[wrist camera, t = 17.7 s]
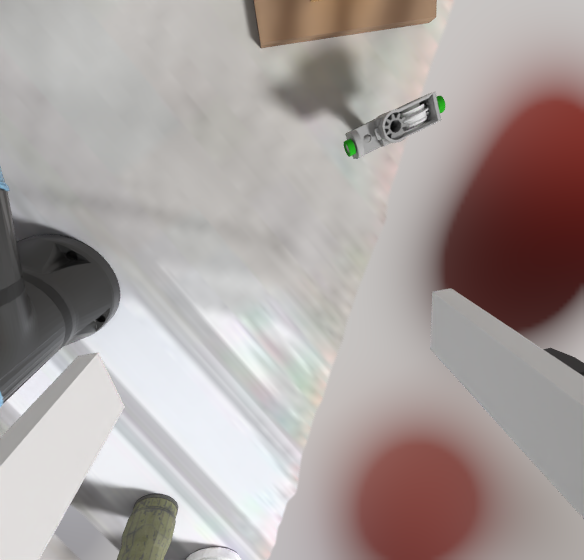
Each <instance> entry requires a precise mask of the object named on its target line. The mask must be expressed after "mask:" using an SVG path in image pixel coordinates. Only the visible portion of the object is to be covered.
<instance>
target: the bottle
mask: <svg viewBox="0 0 584 560" xmlns="http://www.w3.org/2000/svg"><path fill="white" fill-rule="evenodd" d="M186 560H241V557H240V556H239V555H238V554H237V553H236V552H234V551H232V550H230V549H226V548H221V547H212V548H205V549H201V550H198V551H196V552H194V553H192V554H191V555H190V556H189V557H188V558H187V559H186Z"/></svg>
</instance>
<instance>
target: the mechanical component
mask: <svg viewBox="0 0 584 560" xmlns="http://www.w3.org/2000/svg"><path fill="white" fill-rule="evenodd" d="M444 110H445V101H444V99H443V97H442V96H437V97H436V93H435V92H433V93H430V94H428V95H425V96H423V97H421V98H418V99H416V100H414V101H412V102H410V103H407V104H405V105H403V106H401V107H399V108H397V109H395V110H392V111H389V112H387V113H384V114H382V115H380V116H378V117H377V118H376V119H374V120H372V121H370V122H368V123H366V124H364V125H362V126H360V127H358V128H356V129H354V130H352V131H350V132H348V133H346V137H347V140H346V141H344V148H345V151H346V153H347V155H348V156H349V157H350V156H352V155H353V158H354V159H358V158H360V157H362V156H364V155H365V154H367V153H369V152H371V151H373V150H375V149H377V148H379V147H381V146H386V145H388V144H390V143H396V142H400V141H402V140H404V139H405V138H406V137H407V136H409V135H411V134H413V133H415V132H418V131H420V130H422V129H424V128H426V127H428V126H430V125H432V124H434V123H436V122H438V121H440V120H441V117H440V113H442V112H443V111H444Z"/></svg>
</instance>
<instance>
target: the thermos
mask: <svg viewBox="0 0 584 560" xmlns="http://www.w3.org/2000/svg"><path fill="white" fill-rule="evenodd" d="M177 511H178V505H177V502H176V501H175V500H174V499H173V498H171V497H169V496H166V495H163V494H150V495H146V496H144V497H141V498H140V499H139V500H137V502H136V503H135V505H134V508H133V512H132V514H131V516H130V517H129V519H128V522H127V524H126V527H125V530H124V532H123V535H122V546H121V549H120V552H119V555H118V558H117V560H164V556H165V554H166V552H167V550H168V548H169V545H170V543H171V540H172V535H173V531H174V527H175V522H176V521H175V518H176V515H177Z"/></svg>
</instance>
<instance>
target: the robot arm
mask: <svg viewBox="0 0 584 560" xmlns="http://www.w3.org/2000/svg"><path fill="white" fill-rule="evenodd" d="M7 191H10V190H9V187H8V185H7V184H6V183H5V182H4V178H3V175H2V171H1V167H0V407H1V406H2V405H3V403H4V402H5V401H6V400H7V399H8V398H10V397H11V396H12V395H13V394H14V393H15V392H16V391H17V390H18V389H19V388H20V387H21V386H22V385H23V384H24V383H25V382H26V381H27V380H28V379H29V378H30V377H31V376H32V375H33V374H35V373H36V372H37V371H38V370H39V369H40V368H41V367H42V366H43V365H44V364H45V363H46V362H47V361H48V360H49V359H50V358H51V357H52V356H53V355H54V354H55V353H56V352H57V351H58V350H59V349H61V348H62V347H63V346H65V345H68V344H70V343H73V342H75V341H78V340H80V339H83V338H85V337H88V336H90V335H92V334H94V333H95V332H97V331H98V330H100V329H101V328H102V327H103V326H104V325H105V324H106V323H107V322H108V321H109V320H110V319H111V318H112V317H113V316H114V314H115V312H116V310H117V308H118V305H119V301H120V288H119V284H118V280H117V278H116V275H115V273H114V272H113V270H112V268H111V267H110V265H109V264H108V263H107V262H106V260H105V259H104V258H103V257H102V256H101V255H100V254H98V253H97V252H96V251H95V250H93V249H92V248H90V247H89V246H87V245H85V244H83V243H81V242H79V241H77V240H75V239H72V238H68V237H65V236H59V235H37V236H33V237H29V238H26V239H23V240H20V241H18V242H17V241H16V236H15V230H14V225H13V219H12V214H11V209H10V203H9V198H8V192H7ZM430 349H431V350H432V352H433V353H434V354H435V355H436V356H437V357H438V358H439V359H440V361H441V362H442V363H443V364H444V365H445V366H446V367H447V368H448V369H449V370H450V372H451V373H452V374H453V375H454V376H455V377H456V378H457V379H458V380H459V382H460V383H461V384H462V385H463V386H464V387H465V388H466V389H467V390H468V391H469V393H470V394H471V395H472V396H473V397H474V398H475V399H476V400H477V401H478V403H479V404H480V405H481V406H482V407H483V408H484V409H485V410H486V411H487V412H488V413H489V415H490V416H491V417H492V418H493V419H494V420H495V421H496V422H497V424H498V425H499V426H500V427H501V428H502V429H503V430H504V431H505V432H506V434H507V435H508V436H509V437H510V438H511V439H512V440H513V441H514V442H515V443H516V445H517V446H518V447H519V448H520V449H521V450H522V451H523V452H524V453H525V455H526V456H527V457H528V458H529V459H530V460H531V461H532V462H533V463H534V464H535V466H536V467H537V468H538V469H539V470H540V471H541V472H542V473H543V474H544V476H545V477H546V478H547V479H548V480H549V481H550V482H551V483H552V484H553V486H555V488H556V489H557V490H558V491H559V492H560V493H561V494H562V495H563V496H564V498H565V499H566V500H567V501H568V502H569V503H570V504H571V505H572V507H573V508H574V509H576V511H577V512H578V513H579V514H580V515H581V516H582V518H583V519H584V363H583V362H581V361H579V360H578V359H576V358H575V357H572V356H570V355H567V354H565V353H562V352H560V351H557V350H554V349H552V348H548V349H542V348H540V347H539V346H537V345H536V344H534V343H533V342H531V341H529V340H528V339H526V338H525V337H524V336H522V335H521V334H519V333H518V332H516V331H515V330H513V329H512V328H510V327H508V326H507V325H505V324H504V323H502V322H501V321H499V320H498V319H496V318H495V317H493V316H492V315H490V314H489V313H487V312H486V311H484V310H483V309H481V308H480V307H478V306H477V305H475V304H474V303H472V302H471V301H469V300H468V299H466V298H465V297H463V296H462V295H460V294H459V293H457V292H456V291H454V290H453V289H445V290H440V291H434V292H432V318H431V347H430ZM124 407H125V406H124V404H123V402H122V400H121V398H120V396H119V394H118V392H117V390H116V388H115V386H114V384H113V382H112V379H111V377H110V375H109V373H108V371H107V369H106V367H105V365H104V363H103V361H102V359H101V357H100V355H99V353H93V354H87V355H82V356H78V357H77V358H76V359H75V360H74V361H73V362H72V363H71V364H70V365H69V366H68V367H67V368H66V369H65V370H64V372H63V373H62V374H61V375H60V376H59V377H58V378H57V379H56V380H55V381H54V382H53V383H52V384H51V385H50V386H49V387H48V388H47V389H46V390H45V392H44V393H43V394H42V395H41V396H40V397H39V398H38V399H37V400H36V401H35V402H34V403H33V404H32V405H31V406H30V407H29V408H28V409H27V411H26V412H25V413H24V414H23V415H22V416H21V417H20V418H19V419H18V420H17V421H16V422H15V423H14V424H13V425H12V426H11V427H10V428H9V429H8V431H7V432H6V433H5V434H4V435H3V436H2V437H1V438H0V560H39V559H40V557H41V555H42V553H43V552H44V550H45V548H46V546H47V545H48V543H49V541H50V539H51V537H52V536H53V534H54V532H55V530H56V528H57V527H58V525H59V523H60V521H61V520H62V518H63V516H64V514H65V512H66V511H67V509H68V507H69V505H70V504H71V502H72V500H73V498H74V496H75V495H76V493H77V491H78V489H79V488H80V486H81V484H82V482H83V480H84V479H85V477H86V475H87V473H88V471H89V470H90V468H91V466H92V464H93V463H94V461H95V459H96V457H97V455H98V454H99V452H100V450H101V448H102V446H103V445H104V443H105V441H106V439H107V438H108V436H109V434H110V432H111V430H112V429H113V427H114V425H115V423H116V422H117V420H118V418H119V416H120V414H121V413H122V411H123V409H124Z"/></svg>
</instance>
